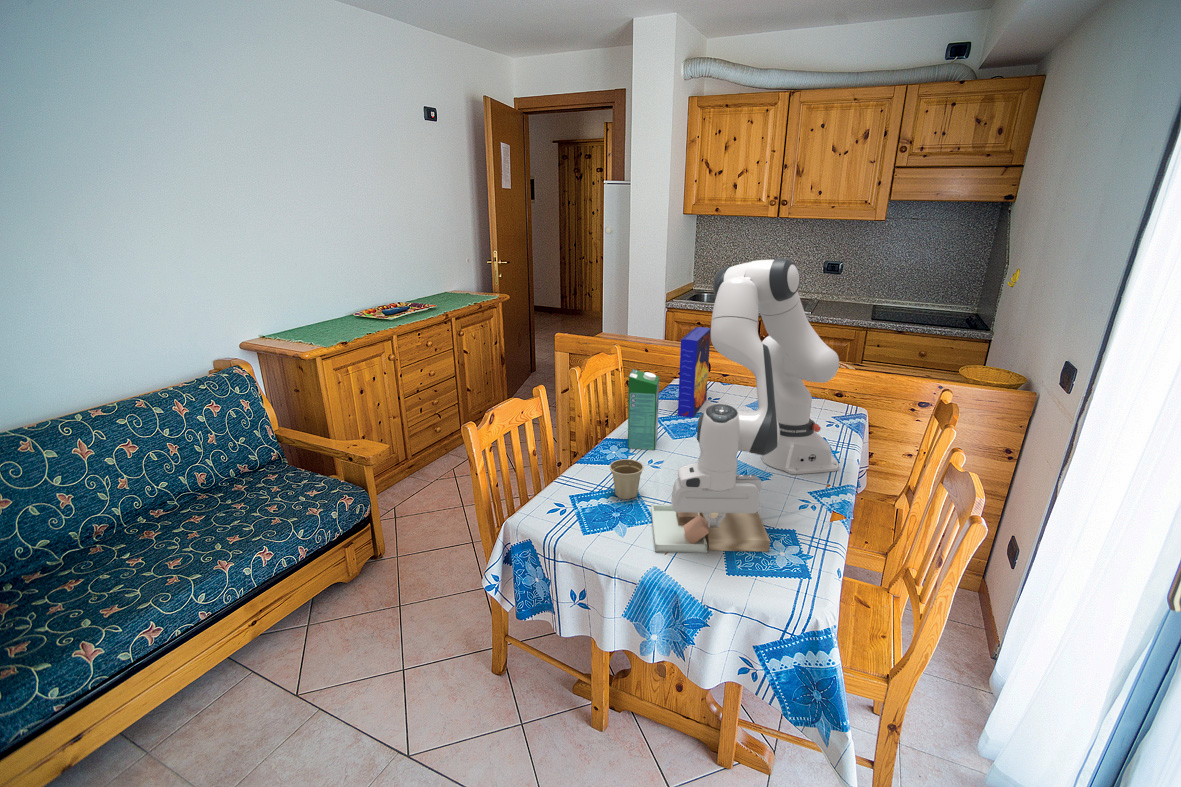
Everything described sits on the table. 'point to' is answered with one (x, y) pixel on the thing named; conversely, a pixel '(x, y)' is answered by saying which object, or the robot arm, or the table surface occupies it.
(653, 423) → the milk carton
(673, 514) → the tray
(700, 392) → the cereal box
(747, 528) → the board
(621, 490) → the flower pot
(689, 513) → the walnut tile
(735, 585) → the table surface
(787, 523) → the table surface
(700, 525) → the terracotta tile
